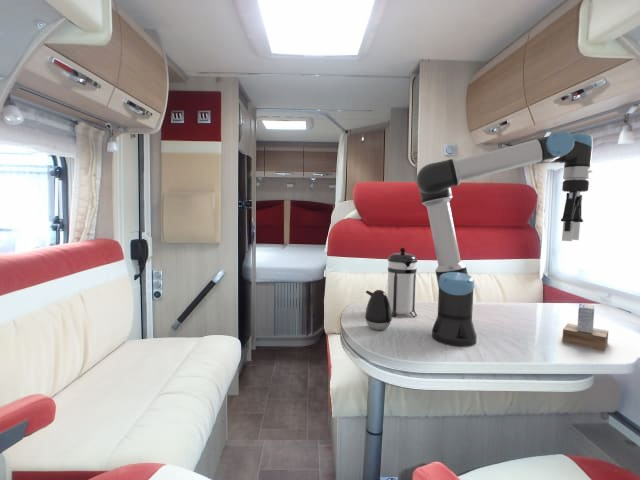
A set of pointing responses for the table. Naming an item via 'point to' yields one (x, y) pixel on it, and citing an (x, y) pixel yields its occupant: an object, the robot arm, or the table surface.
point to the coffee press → (402, 283)
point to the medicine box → (585, 318)
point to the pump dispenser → (378, 310)
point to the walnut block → (585, 337)
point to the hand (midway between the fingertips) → (570, 240)
